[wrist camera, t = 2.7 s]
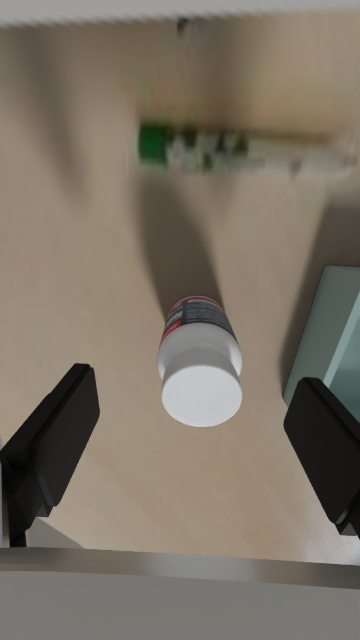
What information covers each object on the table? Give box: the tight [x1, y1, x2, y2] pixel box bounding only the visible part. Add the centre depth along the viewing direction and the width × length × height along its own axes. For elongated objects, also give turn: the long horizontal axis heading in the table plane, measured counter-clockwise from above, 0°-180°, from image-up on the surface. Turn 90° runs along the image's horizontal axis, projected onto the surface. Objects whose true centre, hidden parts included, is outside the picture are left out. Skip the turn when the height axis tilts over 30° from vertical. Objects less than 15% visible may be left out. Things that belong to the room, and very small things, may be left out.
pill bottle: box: [157, 296, 242, 427], centre depth 14 cm, size 5×5×9 cm
